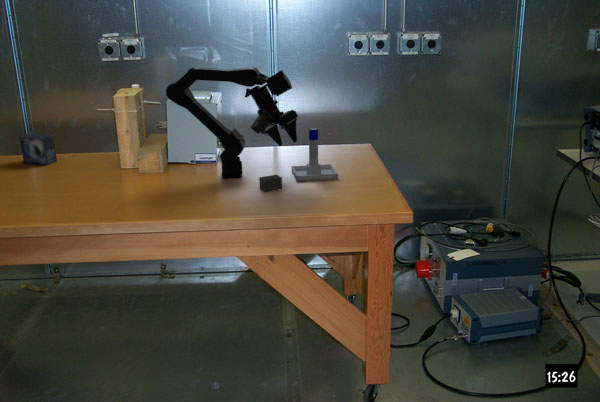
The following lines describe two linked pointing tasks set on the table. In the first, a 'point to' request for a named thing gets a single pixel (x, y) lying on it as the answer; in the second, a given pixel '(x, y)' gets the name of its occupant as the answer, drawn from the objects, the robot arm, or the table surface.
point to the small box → (38, 149)
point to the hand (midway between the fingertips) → (288, 143)
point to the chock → (270, 183)
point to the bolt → (313, 153)
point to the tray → (326, 174)
